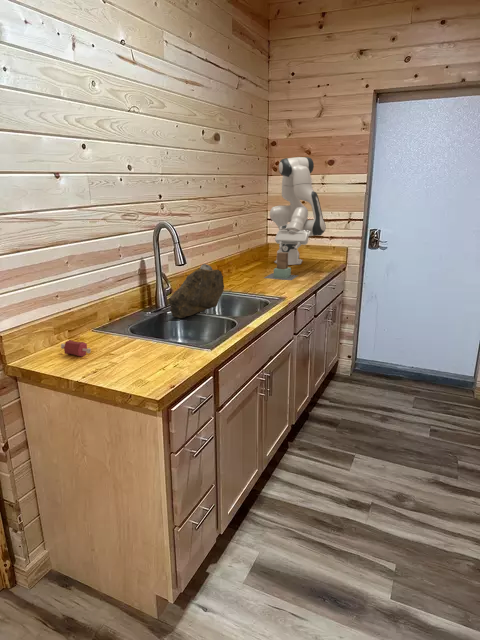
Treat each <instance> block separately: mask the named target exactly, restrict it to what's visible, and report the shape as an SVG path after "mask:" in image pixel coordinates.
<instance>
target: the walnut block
mask: <svg viewBox="0 0 480 640" xmlns="http://www.w3.org/2000/svg"><path fill="white" fill-rule="evenodd" d="M276 260H277V263H276V268H277V269H287V268H289V265H288V253H285V252H279V253H277V252H276Z"/></svg>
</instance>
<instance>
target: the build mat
mask: <svg viewBox="0 0 480 640" xmlns="http://www.w3.org/2000/svg"><path fill="white" fill-rule="evenodd" d="M297 277H299V275H295V274H291V276H290V277H288V278H287V279H286V278H274V272H272V273H270V274H267V275H266V276H264V277H263V279H269V280H270V279H271V280H273V279H274V280H282V281H293V280H294V279H296V278H297Z"/></svg>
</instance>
